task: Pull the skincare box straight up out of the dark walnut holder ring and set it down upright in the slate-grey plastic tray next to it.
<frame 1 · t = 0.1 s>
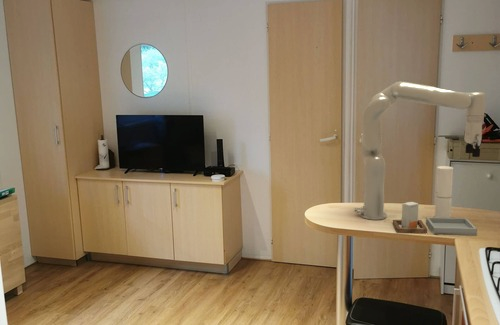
hand: (472, 154, 226), 31 cm above the breakfast bar, tool pointing down, fingers open, 9 cm apart
grey tray: (450, 229, 217), on the breakfast bar
walnut holder: (409, 228, 219), on the breakfast bar
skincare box: (409, 228, 219), resting in walnut holder
cylindrical container: (442, 217, 234), on the breakfast bar
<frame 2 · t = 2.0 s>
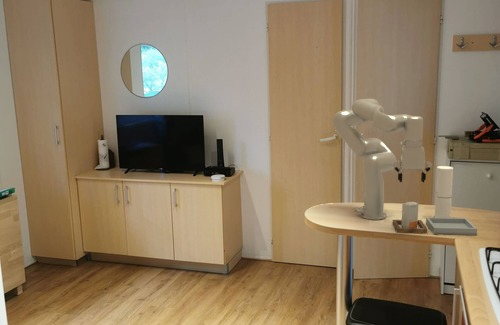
hand: (411, 181, 215), 22 cm above the breakfast bar, tool pointing down, fingers open, 9 cm apart
nothing on the breakfast bar moved.
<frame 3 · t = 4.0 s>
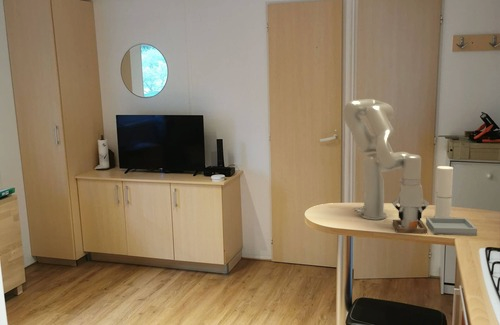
hand: (409, 219, 218), 4 cm above the breakfast bar, tool pointing down, fingers closed on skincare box, 7 cm apart
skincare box: (409, 228, 219), resting in walnut holder, touching gripper
everything else where it was.
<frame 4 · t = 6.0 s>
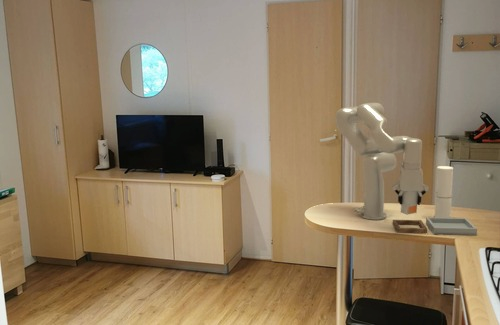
hand: (409, 203, 217), 12 cm above the breakfast bar, tool pointing down, fingers closed on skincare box, 7 cm apart
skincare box: (408, 213, 218), point 7 cm above the breakfast bar, touching gripper
everything else where it was.
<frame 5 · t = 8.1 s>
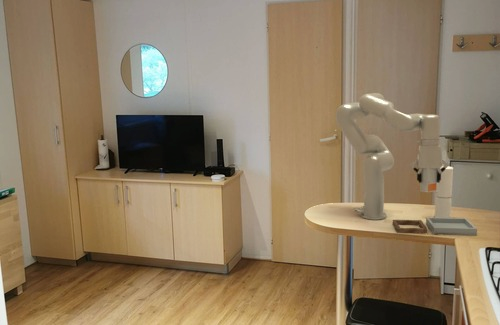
hand: (428, 181, 214), 22 cm above the breakfast bar, tool pointing down, fingers closed on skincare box, 7 cm apart
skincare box: (428, 191, 214), point 18 cm above the breakfast bar, touching gripper
everything else where it was.
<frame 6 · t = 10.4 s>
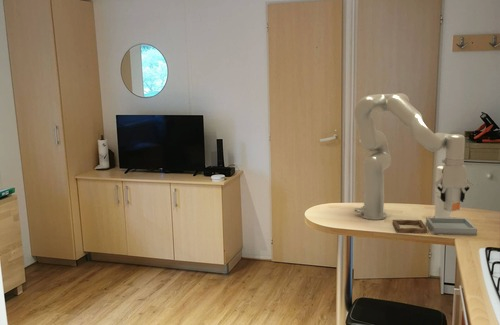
hand: (452, 200, 214), 13 cm above the breakfast bar, tool pointing down, fingers closed on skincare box, 7 cm apart
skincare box: (451, 210, 215), point 9 cm above the breakfast bar, touching gripper
everything else where it was.
when the fingers open (6 cm above the breakfast bar, at t = 12.2 s): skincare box drops 1 cm, resting on grey tray.
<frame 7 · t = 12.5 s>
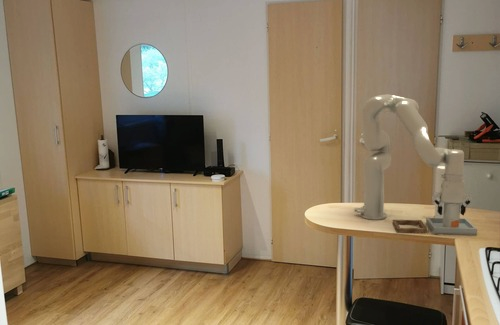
hand: (451, 214, 215), 7 cm above the breakfast bar, tool pointing down, fingers open, 9 cm apart
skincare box: (450, 227, 217), point 1 cm above the breakfast bar, touching grey tray
everything else where it was.
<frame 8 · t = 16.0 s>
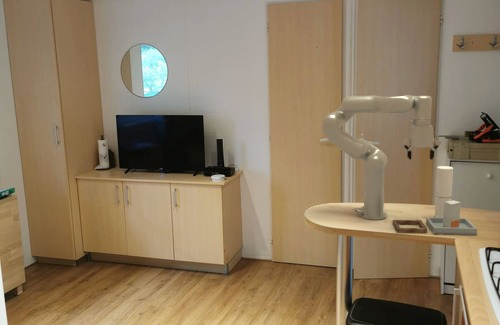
hand: (420, 159, 224), 30 cm above the breakfast bar, tool pointing down, fingers open, 9 cm apart
nothing on the breakfast bar moved.
at the end: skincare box inside the target area on the grey tray (0.2 cm from its centre), point 0.6 cm above the grey tray's base; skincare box tilted 0°; the gripper is holding nothing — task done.
